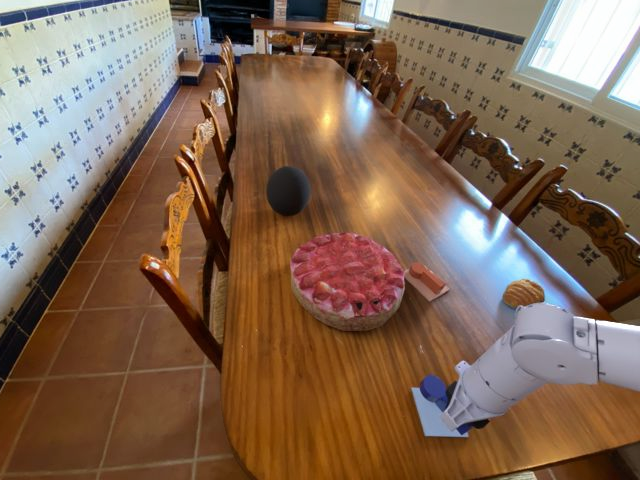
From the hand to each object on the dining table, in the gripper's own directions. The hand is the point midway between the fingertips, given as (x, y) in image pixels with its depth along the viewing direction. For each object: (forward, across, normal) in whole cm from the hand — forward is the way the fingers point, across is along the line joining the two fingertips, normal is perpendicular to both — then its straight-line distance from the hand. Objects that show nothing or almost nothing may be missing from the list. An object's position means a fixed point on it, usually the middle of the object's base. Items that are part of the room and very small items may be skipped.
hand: (455, 412), depth 46 cm
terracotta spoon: (+4, -20, -22) cm, 30 cm away
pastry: (+4, -37, -8) cm, 38 cm away
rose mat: (+4, -20, -22) cm, 30 cm away
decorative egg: (+4, -3, -58) cm, 59 cm away
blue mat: (+4, 0, -2) cm, 4 cm away
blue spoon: (+2, 0, -2) cm, 2 cm away
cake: (+4, -2, -30) cm, 30 cm away
